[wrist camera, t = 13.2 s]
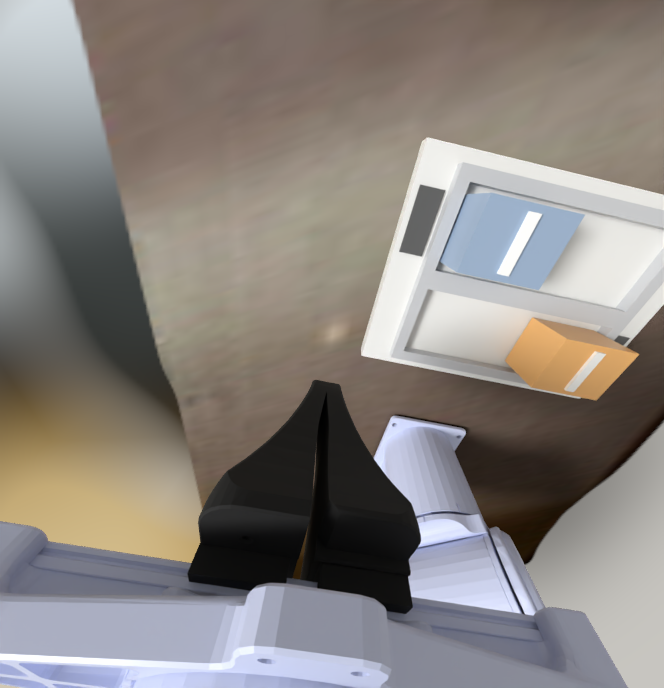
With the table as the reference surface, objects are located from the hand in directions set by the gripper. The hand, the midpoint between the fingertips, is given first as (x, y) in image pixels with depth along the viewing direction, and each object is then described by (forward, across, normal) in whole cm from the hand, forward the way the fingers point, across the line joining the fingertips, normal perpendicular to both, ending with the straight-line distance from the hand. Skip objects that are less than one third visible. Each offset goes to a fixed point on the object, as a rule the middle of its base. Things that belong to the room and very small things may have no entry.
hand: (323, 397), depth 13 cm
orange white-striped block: (+9, -17, -2) cm, 19 cm away
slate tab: (+9, -9, -9) cm, 15 cm away
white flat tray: (+10, -13, -5) cm, 17 cm away
